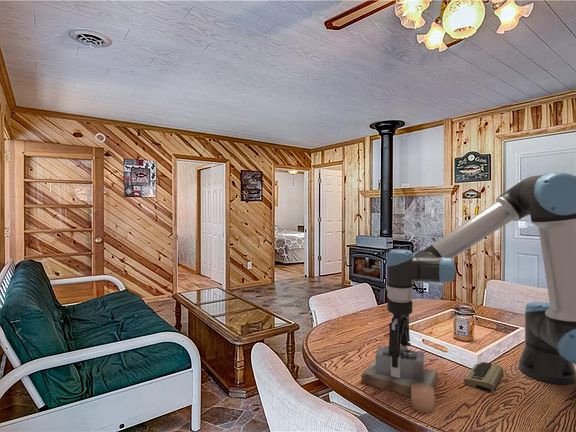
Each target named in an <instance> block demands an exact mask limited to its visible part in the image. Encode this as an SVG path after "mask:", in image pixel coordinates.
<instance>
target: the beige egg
mask: <svg viewBox="0 0 576 432" xmlns="http://www.w3.org/2000/svg"><path fill="white" fill-rule="evenodd" d="M410 401H411V402H410V404H411V407H412V408H413V409H414V410H415V411H418V412H420V413H424V414H428V413H432V412H434V411H435V389H433V387H431V386H430V385H427V384H424V383H415V384H412V385H411V397H410Z"/></svg>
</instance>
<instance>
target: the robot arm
mask: <svg viewBox="0 0 576 432" xmlns="http://www.w3.org/2000/svg"><path fill="white" fill-rule="evenodd" d="M527 216H530V222H531V223H532V224H533V225H535V226H536V227H537V228H538V232H539V233H538V234H539V240H540V246H541V252H542V259H543V267H544V273H545V280H546V286H547V293H548V300H549V301H547V302H546V301H545V302H544V301H531V302H528V303H526V305H525V310H524V314H525V316H524V317H525V318H524V319H525V320H524V322H525V324H524V326H525V327H524V329H525V331H524V333H525V337H524V338H525V339H524V340H525V342H524V343H525V344H524V345H525V346H524V348H523V350H522V352H521V355H520V357H519V359H518V369H519V370H520V371H521V372H522V373H523V374H524V375H527V376H529V377H531V378H533V379H536V380H538V381H542V382H545V383H551V384H555V385H571V384H574V383H576V368H575V365H576V175H574V174H572V173H568V172H550V173H545V174H540V175H532V176H529V177H527V178H524V179H522V180H521V181H520V180H519V182H518V183H516V184H515V185H513V186H511V188H509V189H507V190H506V191H505V192H503V193H501V195H499V196H497V197H496V198H495V202H494V203H493V204H491V205H489V206H488V207H486V208H485V209H484V210H482V211H481V212H479V213H478V214H476V215H474V216H473V217H472V218H470V219H469V220H466V221H465V222H464V223H462V224H460V225H459V226H458V227H456V228H455V229H453V230H452V231H450V232H449V233H447V234H446V235H444V236H442V237H441V238H440V239H438V240H437V241H435V242H434V243H432V244H431V245H429V246H427V247H426V248H424V249H421V250H417V251H415V252H414V254H413V252H412V250H409V249H391V250H389V251H388V252H387V263H386V266H387V267H386V275H387V276H386V277H387V278H386V279H387V280H386V281H387V283H386V284H387V286H386V287H385V291H387V294H386V295H387V298H388V299H387V301H386V303H387V304H386V307H387V309H386V310H387V311H388V312H389V313H390V314H392V315H393V316H392V317H391V322H389V325H388V326H389V334H388V335H389V337H388V338H389V339H388V346H389V353H388V355H389V356H391V376H393V377H396V378H400V371H401V356H400V355H399V354H400V349H402V350H409V349H408V348H409V347H411V342H410V340H411V339H410V314H412V313H413V301H412V300H413V299H414V298H413V292H414V291H413V282H426V283H427V282H428V283H429V282H430V283H432V282H433V283H452V282H454V281H455V279H456V264H455V261H454V258H456V257H457V256H459V255H460V254H462V253H464V252H465V251H466V250H468V249H470V248H471V247H473V246H475V245H476V244H478V243H479V242H481V241H482V240H484V239H486V238H487V237H489V236H490V235H492V234H493V233H495V232H496V231H498V230H500V229H501V228H503V227H505V226H506V225H507V224H509V223H511V222H512V221H514V222H518V221H520V220H521V219H523V218H525V217H527Z"/></svg>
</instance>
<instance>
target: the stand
mask: <svg viewBox="0 0 576 432" xmlns="http://www.w3.org/2000/svg"><path fill="white" fill-rule="evenodd" d="M438 381H439V372H437V371H435V370H431V369H427V368H424V382H422V381H416V380H411V379H405V378H396V377H393V376H387V375H381V374H376V358H374V360H373V361H372V363H370V365H369V366H368V367H367V368H366V369H365V370H364V371H363V373H362V374H361V381H360V382H361V384H365V385H369V386H372V387H375V388H379V389H383V390H385V391H389V392H393V393H396V394H400V395H404V396H407V397H410V398H411V385H412V384H415V383H424V384H427V385H430V386H431V387H433V389H434V390H435V388H436V386H437V384H438Z"/></svg>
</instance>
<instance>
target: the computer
mask: <svg viewBox="0 0 576 432" xmlns="http://www.w3.org/2000/svg"><path fill="white" fill-rule="evenodd" d="M479 362H480V363H479V364H476V365H475V364H474V366H473V367H472V369H471V370H470V371H469V372H468V374H467V375H466V376H465V378H464V379H463V384H464V385H466V386H469V387H472V388H476V389H478V390H481V391H484V392H488V393H491V394H493V393H494V392H495V388H497V387H498V384H499V382H500V380H501V379H502V377H503V375H504V367H503V366H502V365H500V364H495V363H491V362H484V361H479Z"/></svg>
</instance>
